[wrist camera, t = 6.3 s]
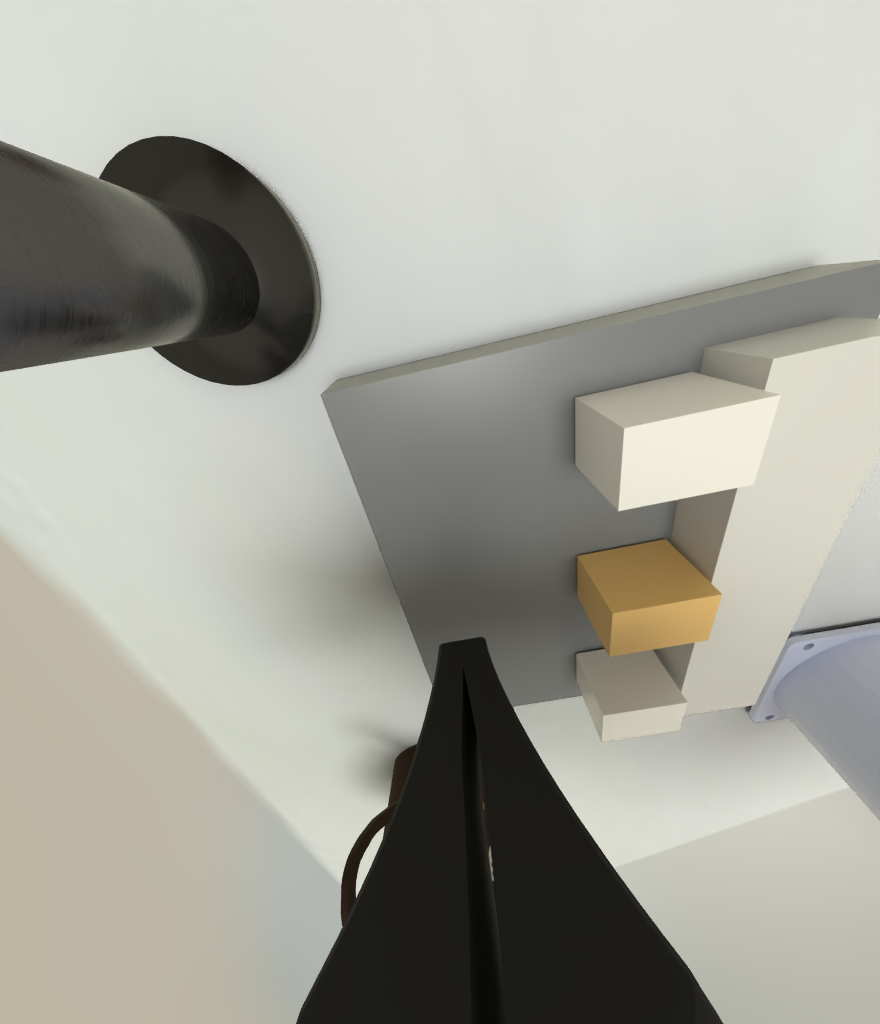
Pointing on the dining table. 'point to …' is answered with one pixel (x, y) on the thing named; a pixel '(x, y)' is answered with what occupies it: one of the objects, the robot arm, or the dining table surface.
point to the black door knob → (153, 263)
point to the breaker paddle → (645, 598)
